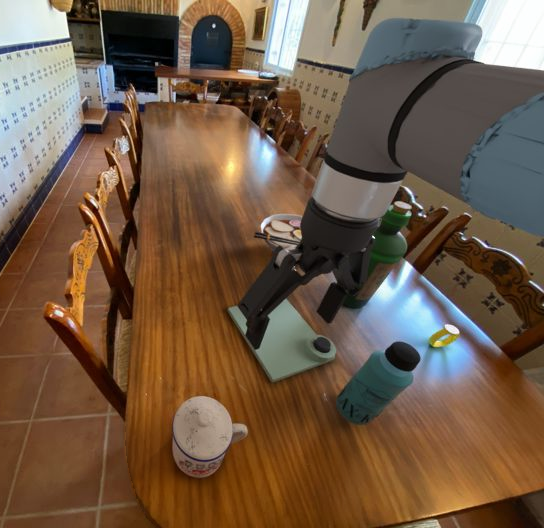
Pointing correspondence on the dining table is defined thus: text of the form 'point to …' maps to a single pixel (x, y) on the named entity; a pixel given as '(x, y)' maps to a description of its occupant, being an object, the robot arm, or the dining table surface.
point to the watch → (446, 330)
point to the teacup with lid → (203, 435)
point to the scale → (285, 343)
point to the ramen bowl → (281, 231)
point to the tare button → (322, 344)
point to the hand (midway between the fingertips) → (289, 329)
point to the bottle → (383, 252)
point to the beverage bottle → (378, 383)
